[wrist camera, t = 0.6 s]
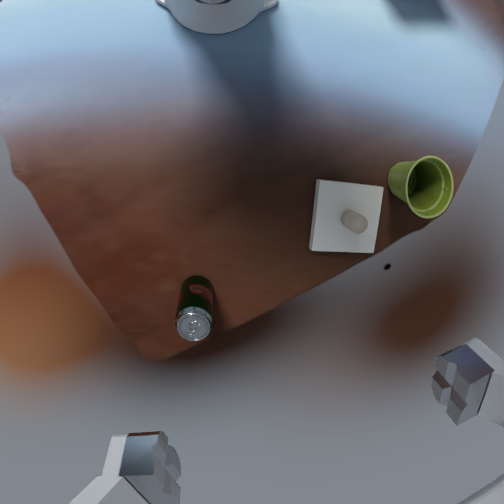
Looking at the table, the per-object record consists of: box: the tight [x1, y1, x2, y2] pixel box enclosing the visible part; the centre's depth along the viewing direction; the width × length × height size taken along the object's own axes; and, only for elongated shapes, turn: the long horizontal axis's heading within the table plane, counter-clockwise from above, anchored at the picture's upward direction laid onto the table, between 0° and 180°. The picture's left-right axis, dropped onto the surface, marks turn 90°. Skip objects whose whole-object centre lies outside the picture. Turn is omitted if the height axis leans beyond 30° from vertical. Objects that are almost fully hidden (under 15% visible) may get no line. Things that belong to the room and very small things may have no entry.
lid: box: [310, 180, 384, 253], centre depth 48 cm, size 11×11×5 cm
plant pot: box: [388, 156, 453, 218], centre depth 46 cm, size 9×9×9 cm
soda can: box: [175, 276, 213, 341], centre depth 46 cm, size 5×5×12 cm
